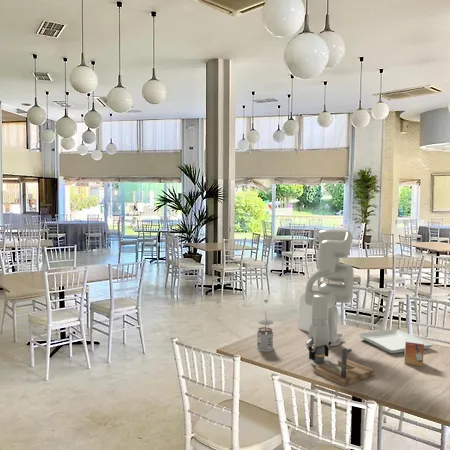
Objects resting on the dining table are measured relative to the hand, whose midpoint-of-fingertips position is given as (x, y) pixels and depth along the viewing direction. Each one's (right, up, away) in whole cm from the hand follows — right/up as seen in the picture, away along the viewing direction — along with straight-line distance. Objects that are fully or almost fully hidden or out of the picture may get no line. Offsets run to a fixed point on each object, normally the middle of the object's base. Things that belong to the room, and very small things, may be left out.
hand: (318, 357), depth 209 cm
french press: (-24, 0, +18) cm, 30 cm away
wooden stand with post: (+8, -3, -15) cm, 17 cm away
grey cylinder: (0, -2, 0) cm, 2 cm away
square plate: (+45, -2, +26) cm, 52 cm away
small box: (+44, -3, 0) cm, 44 cm away
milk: (+7, +1, +51) cm, 52 cm away
